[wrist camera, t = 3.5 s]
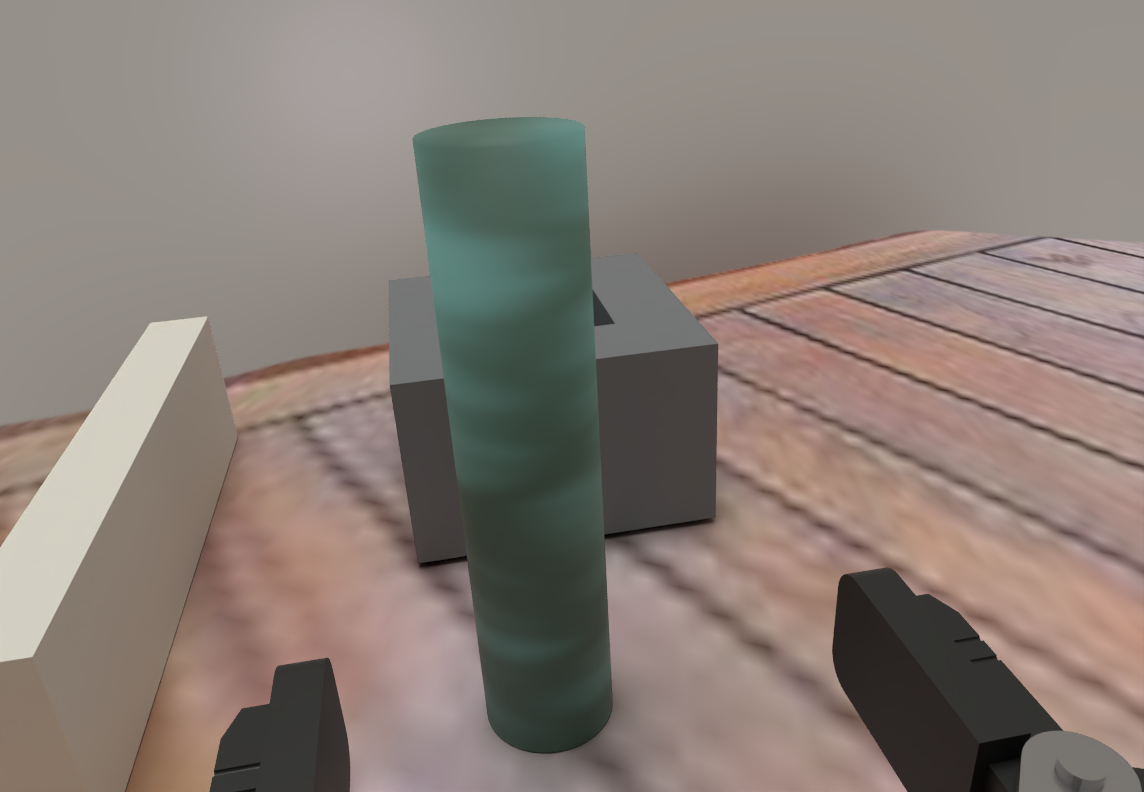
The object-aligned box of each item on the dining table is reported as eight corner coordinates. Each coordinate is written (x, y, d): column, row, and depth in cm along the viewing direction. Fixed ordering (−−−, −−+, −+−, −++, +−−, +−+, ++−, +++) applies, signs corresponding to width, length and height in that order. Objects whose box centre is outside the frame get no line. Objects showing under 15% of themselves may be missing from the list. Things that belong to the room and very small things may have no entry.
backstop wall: (5, 862, 22) (-86, 675, 19) (184, 443, 42) (150, 322, 39) (108, 842, 22) (32, 656, 20) (237, 436, 42) (208, 316, 39)
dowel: (494, 764, 24) (415, 155, 17) (481, 670, 27) (410, 125, 20) (625, 739, 25) (601, 138, 18) (597, 650, 28) (567, 112, 21)
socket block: (418, 563, 32) (389, 385, 29) (410, 424, 42) (388, 280, 39) (715, 517, 34) (717, 343, 30) (640, 393, 43) (637, 253, 40)
